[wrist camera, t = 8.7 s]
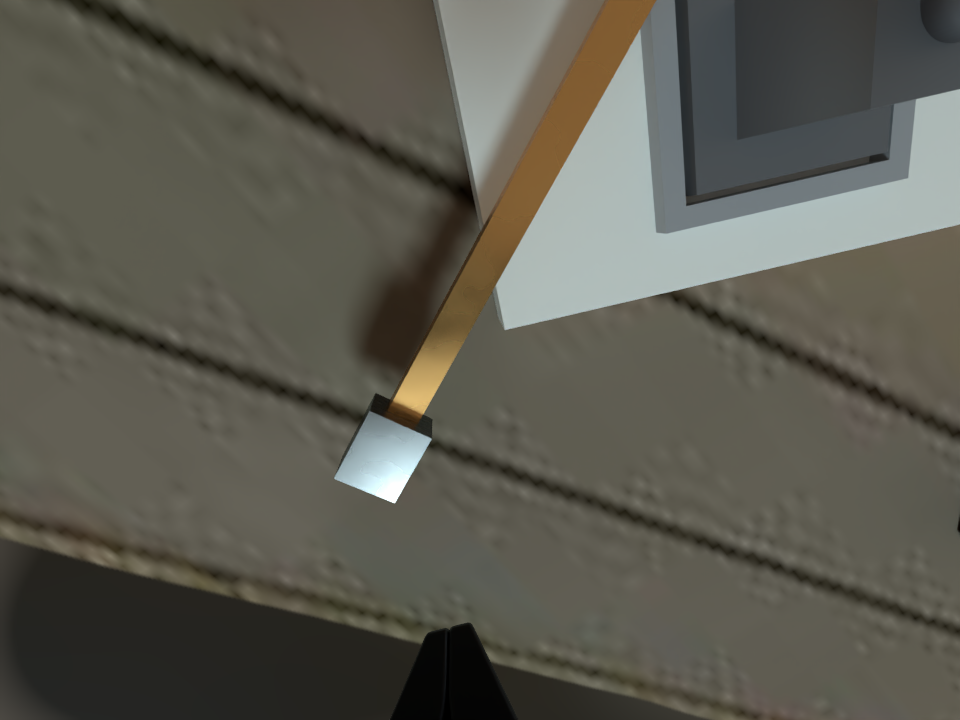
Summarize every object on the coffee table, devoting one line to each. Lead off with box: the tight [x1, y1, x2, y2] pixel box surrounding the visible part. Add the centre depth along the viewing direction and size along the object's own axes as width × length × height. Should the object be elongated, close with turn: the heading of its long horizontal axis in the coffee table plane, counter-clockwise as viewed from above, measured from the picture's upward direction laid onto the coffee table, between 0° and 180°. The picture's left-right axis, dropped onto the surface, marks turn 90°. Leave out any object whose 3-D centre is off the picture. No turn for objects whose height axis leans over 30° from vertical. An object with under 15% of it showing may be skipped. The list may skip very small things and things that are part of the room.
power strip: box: [433, 0, 960, 330], centre depth 16 cm, size 30×14×3 cm, turn 102°
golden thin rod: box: [334, 0, 656, 503], centre depth 14 cm, size 2×23×2 cm, turn 151°
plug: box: [675, 0, 960, 196], centre depth 12 cm, size 7×7×8 cm
